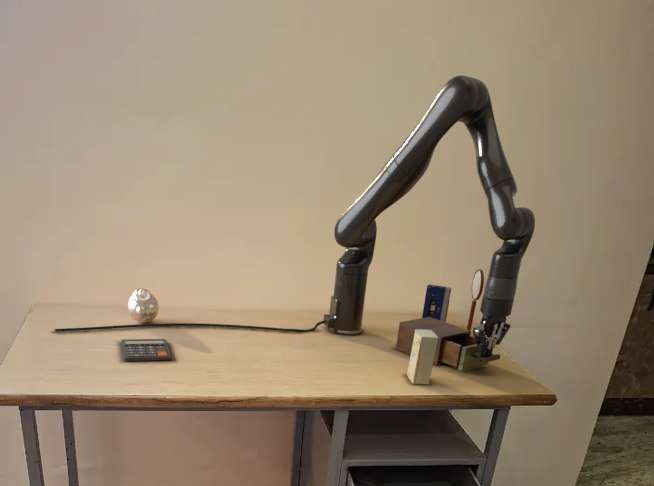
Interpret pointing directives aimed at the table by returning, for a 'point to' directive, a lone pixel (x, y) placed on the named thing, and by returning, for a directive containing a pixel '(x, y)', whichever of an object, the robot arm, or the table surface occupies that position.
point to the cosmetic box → (422, 356)
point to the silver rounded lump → (143, 306)
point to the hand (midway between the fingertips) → (484, 361)
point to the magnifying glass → (475, 293)
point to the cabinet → (427, 323)
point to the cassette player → (436, 302)
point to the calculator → (145, 349)
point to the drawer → (463, 353)
